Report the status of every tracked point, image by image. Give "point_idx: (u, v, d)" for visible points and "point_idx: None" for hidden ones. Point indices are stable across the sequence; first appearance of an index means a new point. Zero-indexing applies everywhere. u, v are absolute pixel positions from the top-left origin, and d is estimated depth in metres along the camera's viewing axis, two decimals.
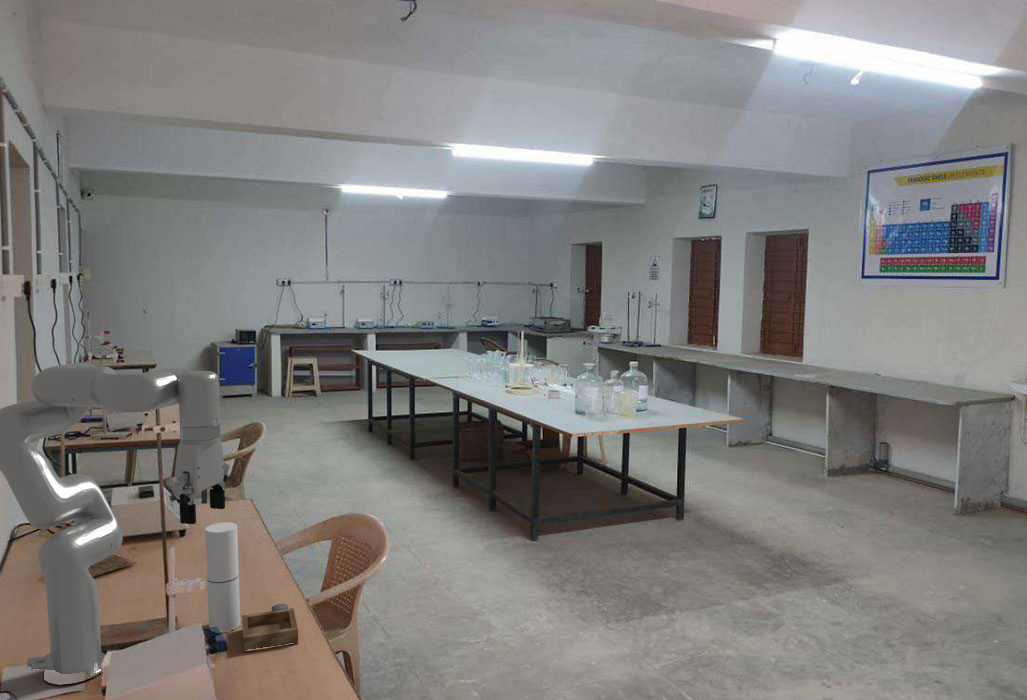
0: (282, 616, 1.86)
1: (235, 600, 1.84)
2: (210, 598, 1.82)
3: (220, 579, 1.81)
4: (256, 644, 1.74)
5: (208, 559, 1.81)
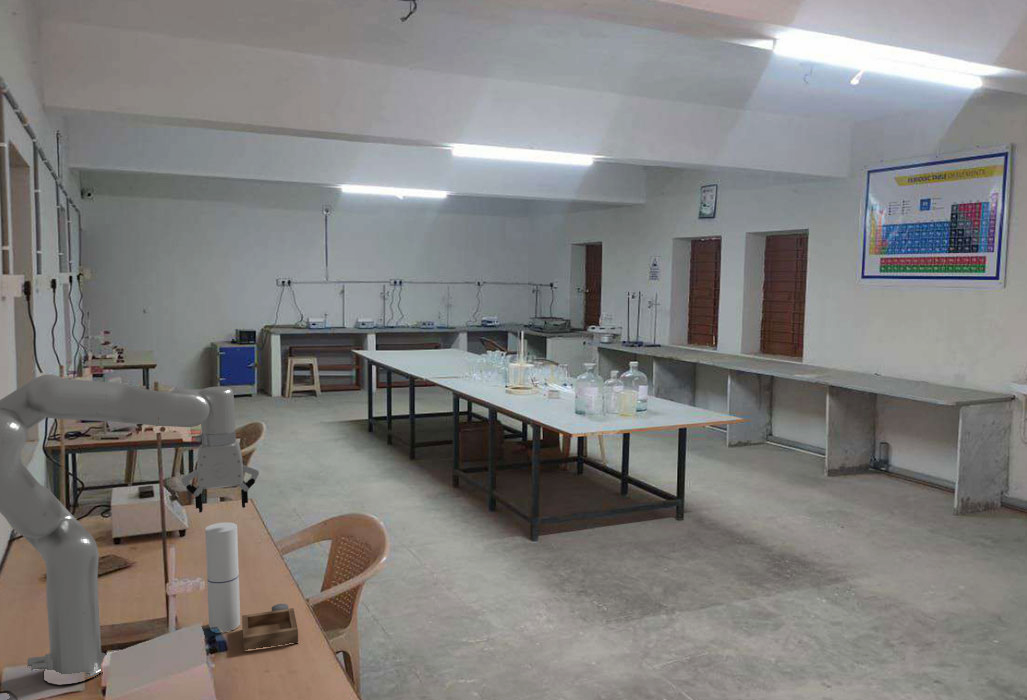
0: (282, 616, 1.86)
1: (235, 600, 1.84)
2: (210, 598, 1.82)
3: (220, 579, 1.81)
4: (256, 644, 1.74)
5: (208, 559, 1.81)
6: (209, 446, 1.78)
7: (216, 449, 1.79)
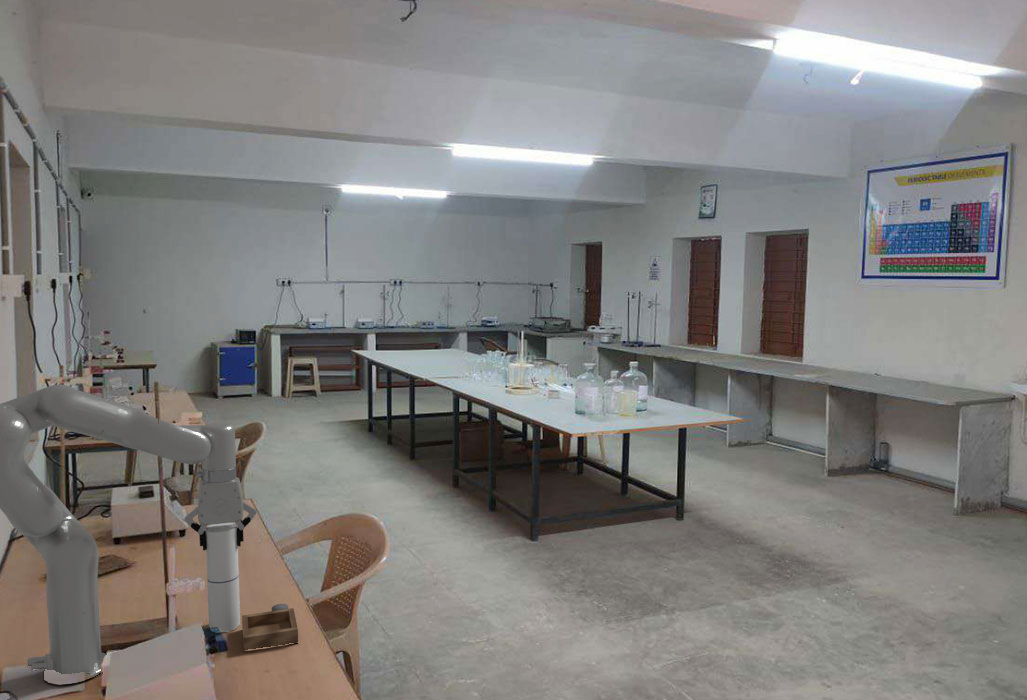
0: (282, 616, 1.86)
1: (235, 600, 1.84)
2: (210, 598, 1.82)
3: (220, 579, 1.81)
4: (256, 644, 1.74)
5: (208, 559, 1.81)
6: (210, 483, 1.79)
7: (216, 485, 1.80)
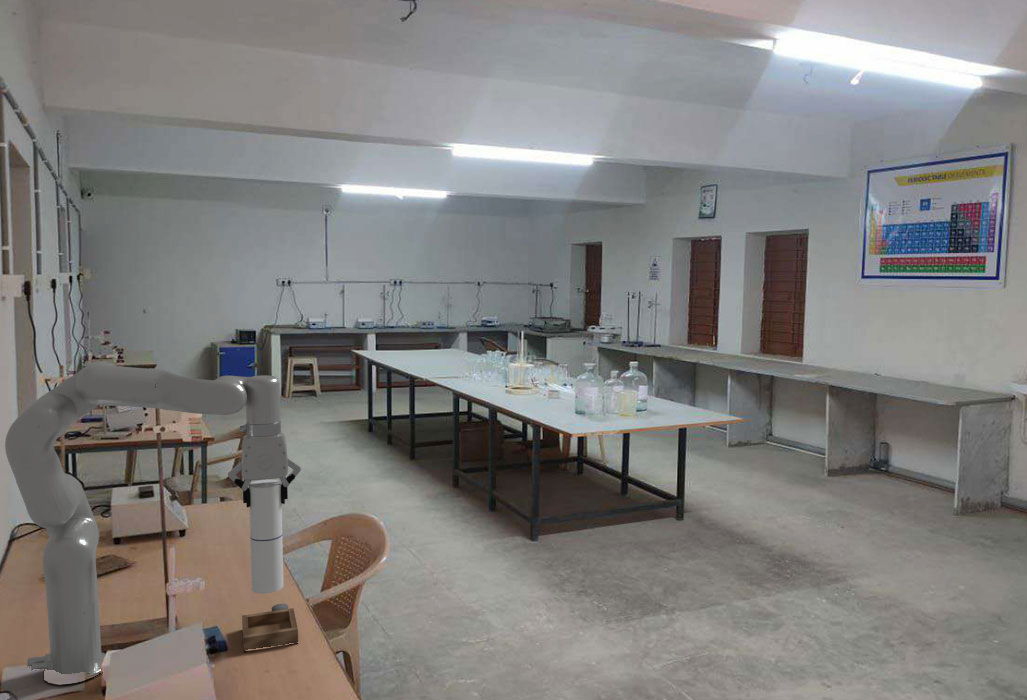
0: (282, 616, 1.86)
1: (279, 559, 1.78)
2: (253, 557, 1.76)
3: (264, 537, 1.75)
4: (256, 644, 1.74)
5: (252, 516, 1.75)
6: (254, 436, 1.72)
7: (261, 439, 1.73)
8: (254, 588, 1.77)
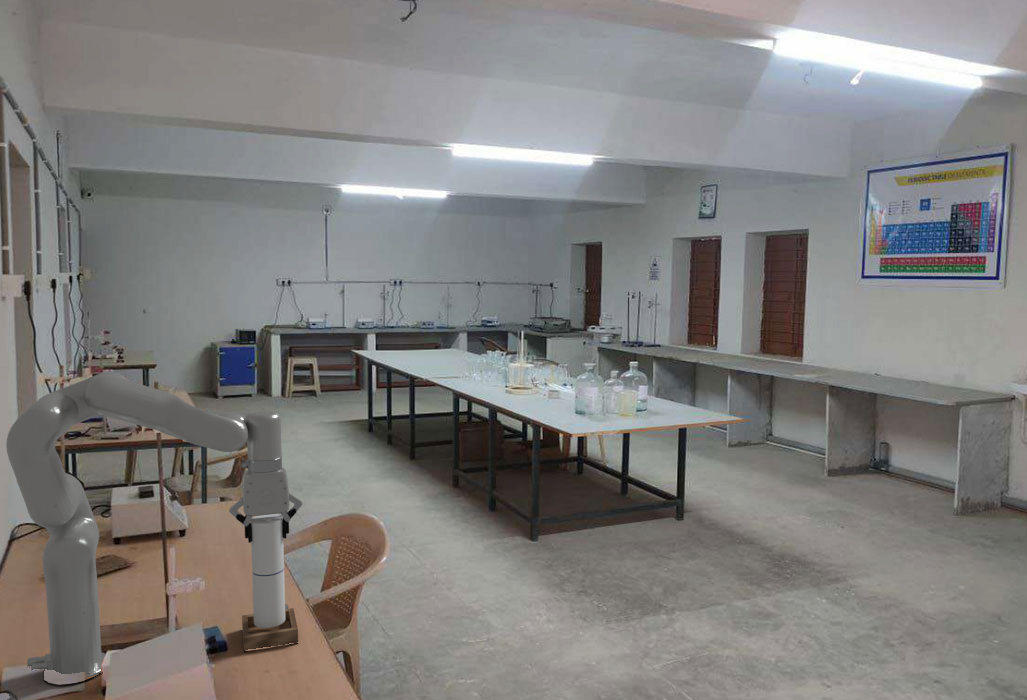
0: None
1: (281, 594, 1.79)
2: (255, 591, 1.77)
3: (266, 572, 1.76)
4: (256, 644, 1.74)
5: (254, 551, 1.76)
6: (256, 473, 1.73)
7: (262, 475, 1.74)
8: (256, 622, 1.78)
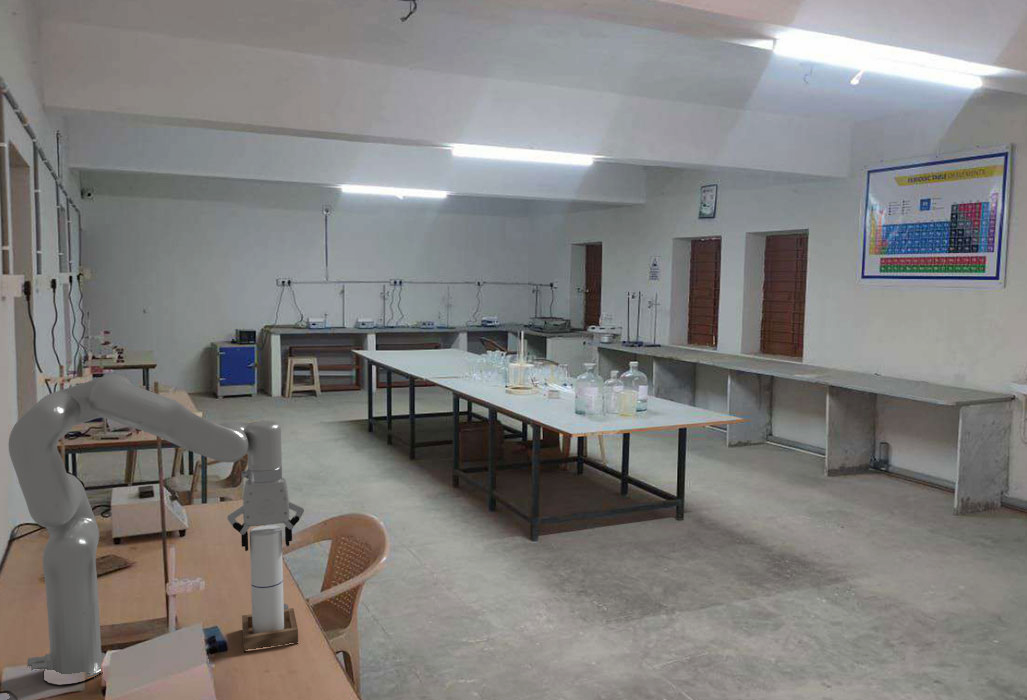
0: None
1: (280, 605, 1.79)
2: (254, 603, 1.77)
3: (265, 584, 1.76)
4: (256, 644, 1.74)
5: (252, 563, 1.76)
6: (256, 483, 1.74)
7: (262, 485, 1.75)
8: None
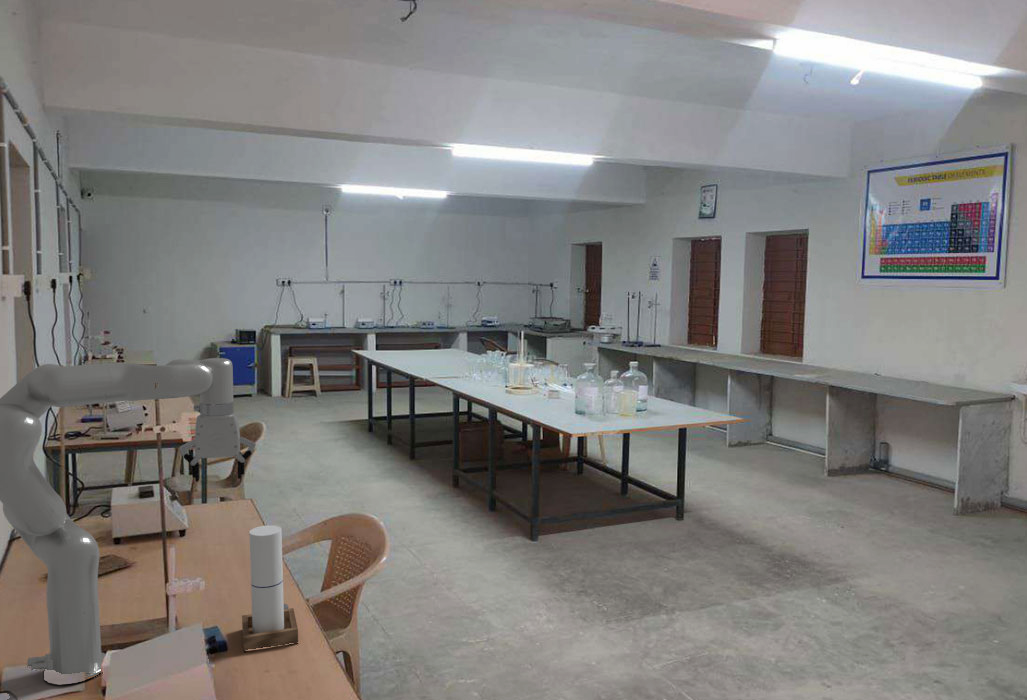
0: None
1: (280, 605, 1.79)
2: (254, 603, 1.77)
3: (265, 584, 1.76)
4: (256, 644, 1.74)
5: (252, 563, 1.76)
6: (206, 416, 1.80)
7: (213, 419, 1.81)
8: None
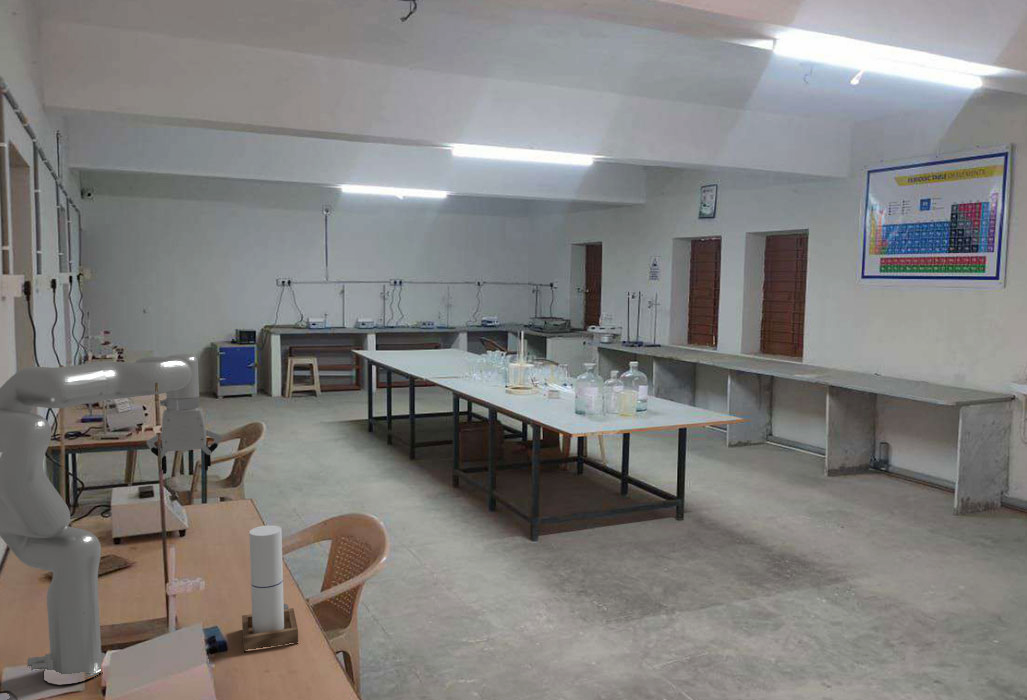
0: None
1: (280, 605, 1.79)
2: (254, 603, 1.77)
3: (265, 584, 1.76)
4: (256, 644, 1.74)
5: (252, 563, 1.76)
6: (173, 410, 1.86)
7: (179, 413, 1.87)
8: None
